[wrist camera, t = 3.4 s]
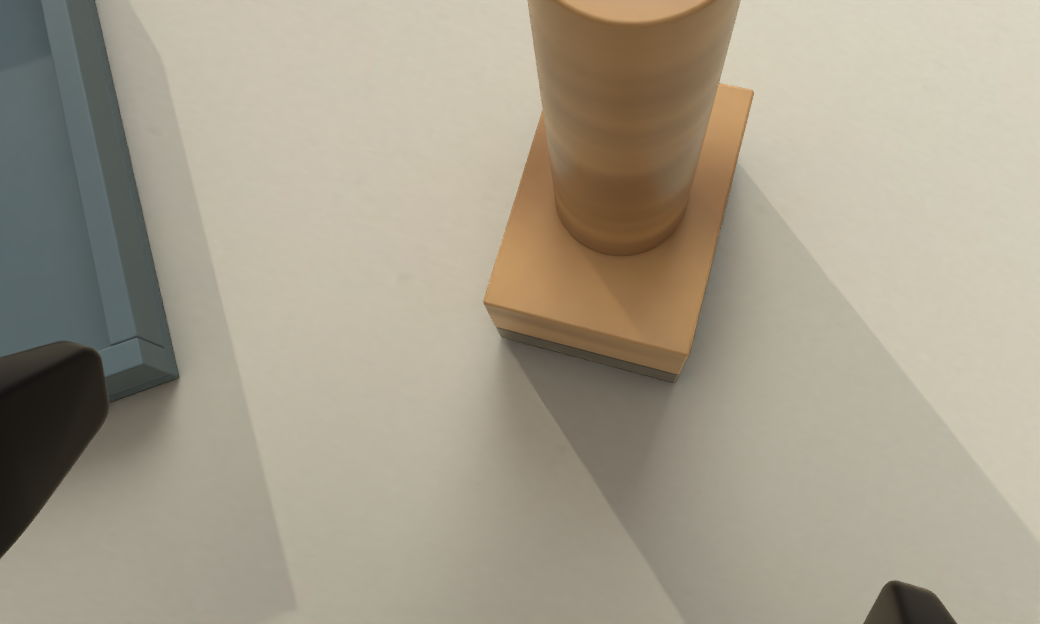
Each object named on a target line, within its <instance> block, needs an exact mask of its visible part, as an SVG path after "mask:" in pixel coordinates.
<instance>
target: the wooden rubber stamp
mask: <svg viewBox="0 0 1040 624" xmlns="http://www.w3.org/2000/svg"><path fill="white" fill-rule="evenodd" d="M739 4H740V0H528V7H529V14H530V22H531V29H532V36H533V43H534V50H535V58H536V65H537V72H538V79H539V86H540V93H541V101H542V108H543V110H542V113H541V117H540V120H539V123H538V126H537V129H536V133H535V136H534V139H533V142H532V146H531V149H530V152H529V155H528V159H527V162H526V165H525V168H524V171H523V175H522V178H521V181H520V184H519V188H518V191H517V194H516V197H515V201H514V204H513V207H512V210H511V213H510V217H509V220H508V223H507V226H506V230H505V233H504V236H503V239H502V243H501V246H500V249H499V252H498V255H497V259H496V262H495V265H494V268H493V272H492V275H491V278H490V281H489V284H488V288H487V291H486V294H485V297H484V301H483V302H484V305H485V307H486V309H487V311H488V313H489V315H490V317H491V319H492V321H493V323H494V324H495V326H496V328H497V330H498V332H499V334H500V336H501V337H503V338H507V339H511V340H515V341H518V342H522V343H526V344H530V345H533V346H537V347H541V348H545V349H548V350H552V351H556V352H560V353H564V354H567V355H571V356H575V357H579V358H582V359H586V360H590V361H594V362H598V363H601V364H605V365H609V366H613V367H616V368H620V369H624V370H628V371H632V372H635V373H639V374H643V375H647V376H650V377H654V378H658V379H662V380H666V381H669V382H676V380H677V378H678V376H679V374H680V372H681V370H682V368H683V366H684V364H685V362H686V360H687V358H688V356H689V354H690V350H691V346H692V342H693V338H694V334H695V330H696V326H697V322H698V318H699V313H700V309H701V305H702V301H703V297H704V293H705V289H706V285H707V281H708V277H709V273H710V269H711V265H712V261H713V257H714V253H715V249H716V245H717V241H718V237H719V233H720V229H721V224H722V220H723V216H724V212H725V208H726V204H727V200H728V196H729V192H730V188H731V184H732V180H733V176H734V172H735V168H736V164H737V160H738V156H739V152H740V148H741V144H742V140H743V136H744V131H745V127H746V123H747V119H748V115H749V111H750V107H751V103H752V99H753V95H754V91H753V90H750V89H745V88H740V87H735V86H730V85H726V84H721V83H719V81H720V77H721V73H722V69H723V66H724V62H725V58H726V54H727V50H728V46H729V43H730V39H731V35H732V31H733V27H734V23H735V20H736V16H737V12H738V8H739Z"/></svg>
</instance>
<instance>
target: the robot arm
mask: <svg viewBox="0 0 1040 624" xmlns="http://www.w3.org/2000/svg"><path fill="white" fill-rule="evenodd" d="M108 410H109V398H108V392H107V386H106V380H105V374H104V368H103V362H102V358H101V356H100V354H99V353H98V351H97V350H95V349H94V348H92V347H88V346H85V345H81V344H78V343H74V342H71V341H57V342H53V343H50V344H46V345H42V346H39V347H35V348H32V349H28V350H25V351H21V352H17V353H14V354H10V355H7V356H3V357H0V559H1V558H2V556H3V555H4V554H5V553H6V552H7V551H8V550H9V549H10V547H11V546H12V545H13V544H14V543H15V542H16V540H17V539H18V538H19V537H20V536H21V535H22V533H23V532H24V531H25V530H26V529H27V527H28V526H29V525H30V523H31V522H32V521H33V519H34V518H35V517H36V516H37V514H38V513H39V512H40V510H41V509H42V508H43V506H44V505H45V504H46V502H47V501H48V499H49V498H50V497H51V495H52V494H53V493H54V491H55V490H56V488H57V487H58V486H59V484H60V483H61V482H62V480H63V479H64V477H65V476H66V475H67V473H68V472H69V470H70V469H71V468H72V466H73V465H74V464H75V462H76V461H77V459H78V458H79V457H80V455H81V454H82V453H83V451H84V450H85V448H86V447H87V446H88V444H89V443H90V442H91V440H92V439H93V437H94V436H95V435H96V433H97V432H98V430H99V429H100V428H101V426H102V425H103V423H104V421H105V419H106V417H107V414H108ZM864 624H957V623H956V621H955V620H954V619H953V617H952V616H951V615H950V613H949V612H948V610H947V609H946V608H945V606H944V605H943V604H942V602H941V601H940V600H939V598H938V597H937V596H936V595H935V594H934V593H933V592H931V591H929V590H927V589H924V588H921V587H917V586H914V585H911V584H907V583H904V582H900V581H890V582H888V583H887V584H886V585H885V586H884V587H883V589H882V590H881V592H880V594H879V596H878V598H877V599H876V601H875V603H874V605H873V607H872V609H871V611H870V612H869V614H868V616H867V618H866V620H865V622H864Z"/></svg>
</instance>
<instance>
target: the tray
mask: <svg viewBox="0 0 1040 624" xmlns="http://www.w3.org/2000/svg"><path fill="white" fill-rule="evenodd" d="M57 341H71V342H74V343H78V344H81V345H85V346H88V347H92V348H94V349H95V350H97V351H98V353H99V354H100V356H101V358H102V362H103V368H104V374H105V380H106V386H107V392H108V398H109V402H111V401H114V400H117V399H120V398H123V397H125V396H128V395H131V394H134V393H137V392H140V391H142V390H145V389H148V388H151V387H154V386H157V385H159V384H162V383H165V382H168V381H171V380H173V379H176V378H178V377H179V375H178V370H177V366H176V361H175V357H174V353H173V348H172V344H171V339H170V335H169V330H168V326H167V321H166V317H165V312H164V308H163V303H162V299H161V295H160V290H159V286H158V281H157V277H156V272H155V268H154V263H153V259H152V254H151V250H150V245H149V241H148V237H147V232H146V228H145V223H144V219H143V214H142V210H141V205H140V201H139V196H138V192H137V187H136V183H135V179H134V174H133V170H132V165H131V161H130V156H129V152H128V147H127V143H126V138H125V134H124V129H123V125H122V121H121V116H120V112H119V107H118V103H117V98H116V94H115V89H114V85H113V80H112V76H111V71H110V67H109V63H108V58H107V54H106V49H105V45H104V40H103V36H102V31H101V27H100V22H99V18H98V13H97V9H96V5H95V0H0V357H3V356H7V355H10V354H14V353H17V352H21V351H25V350H28V349H32V348H35V347H39V346H42V345H46V344H50V343H53V342H57Z"/></svg>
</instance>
